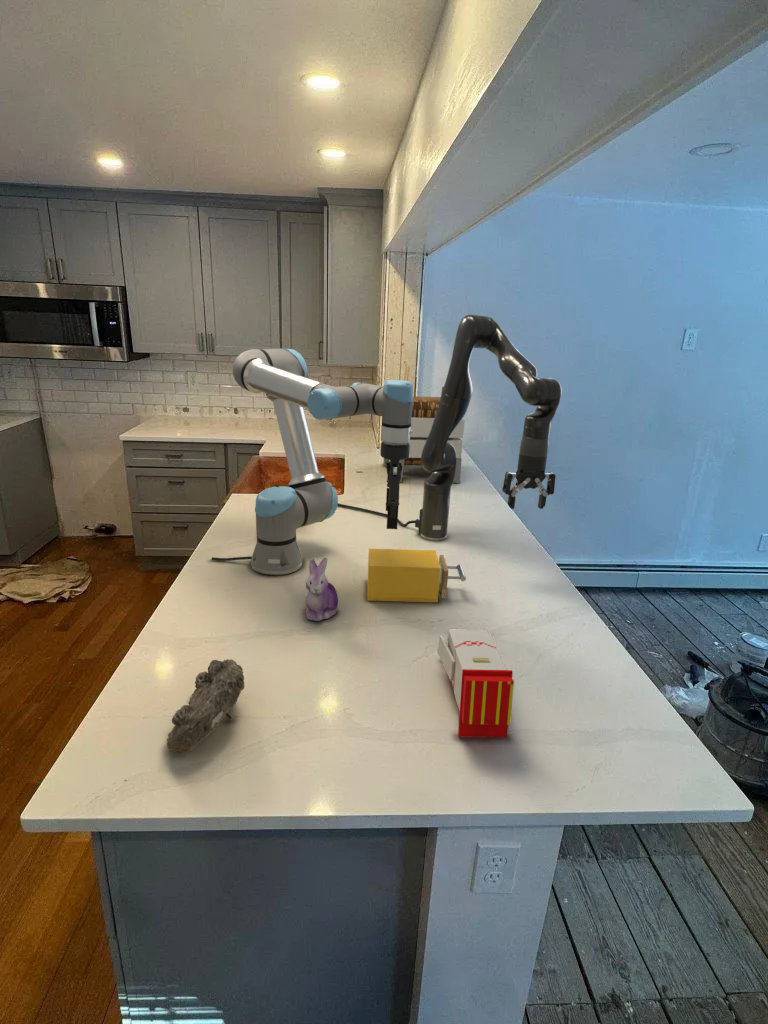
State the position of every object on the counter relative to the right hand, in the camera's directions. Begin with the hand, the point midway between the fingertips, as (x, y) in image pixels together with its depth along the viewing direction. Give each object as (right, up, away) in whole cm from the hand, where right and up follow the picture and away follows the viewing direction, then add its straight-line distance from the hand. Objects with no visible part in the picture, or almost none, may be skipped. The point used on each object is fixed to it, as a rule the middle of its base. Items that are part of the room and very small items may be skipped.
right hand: (525, 508), depth 161 cm
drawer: (-30, -23, -2) cm, 37 cm away
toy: (-22, -39, -42) cm, 62 cm away
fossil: (-73, -40, -53) cm, 99 cm away
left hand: (-38, -3, -8) cm, 39 cm away
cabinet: (-35, -24, -2) cm, 43 cm away
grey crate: (-23, +18, +114) cm, 118 cm away
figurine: (-57, -27, -15) cm, 64 cm away
